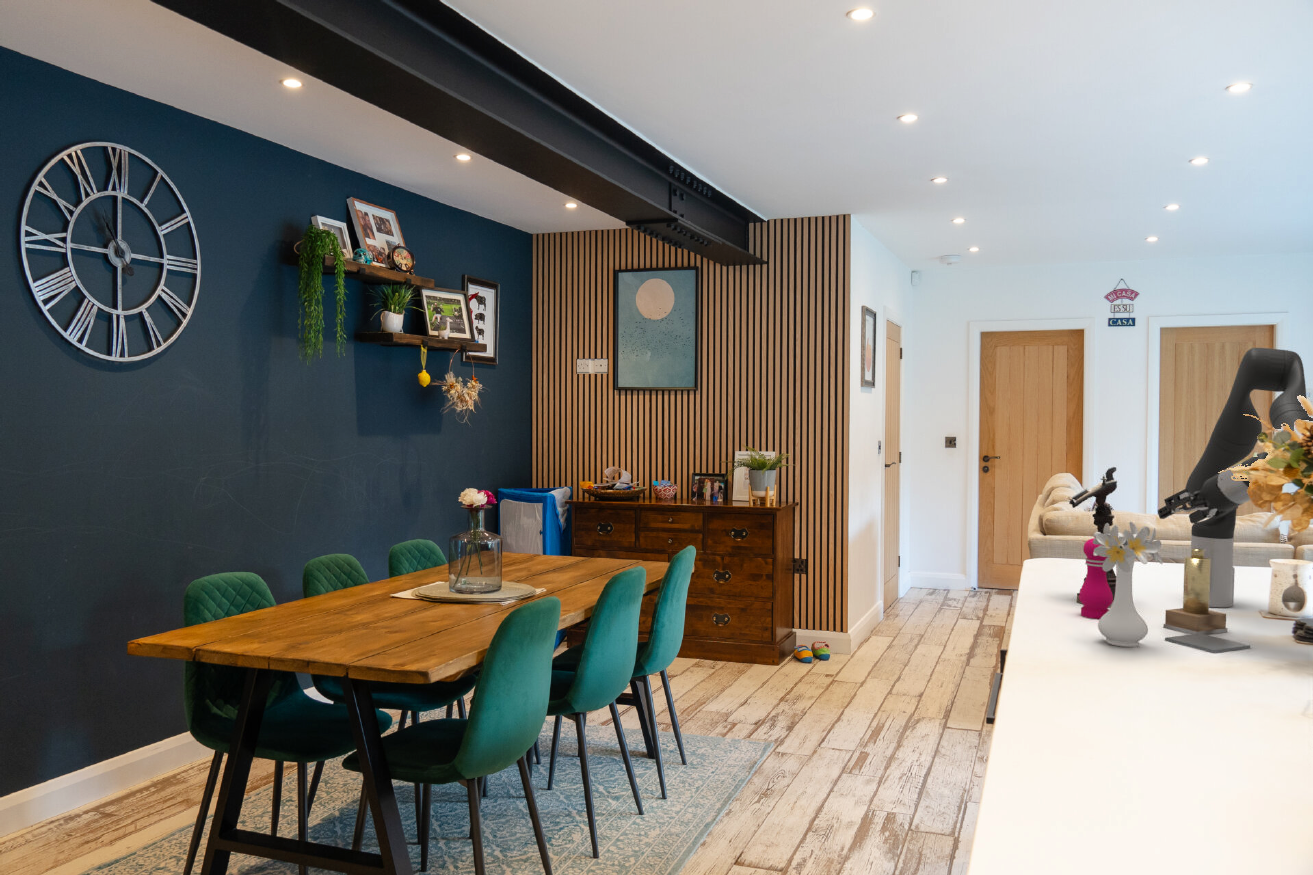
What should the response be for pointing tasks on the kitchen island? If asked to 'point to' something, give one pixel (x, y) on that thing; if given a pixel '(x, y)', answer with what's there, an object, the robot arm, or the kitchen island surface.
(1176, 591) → the kitchen island surface
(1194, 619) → the plane block
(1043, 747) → the kitchen island surface
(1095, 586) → the pepper mill
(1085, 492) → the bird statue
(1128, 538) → the flower vase
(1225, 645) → the slate mat
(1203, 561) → the gold knobbed bottle
